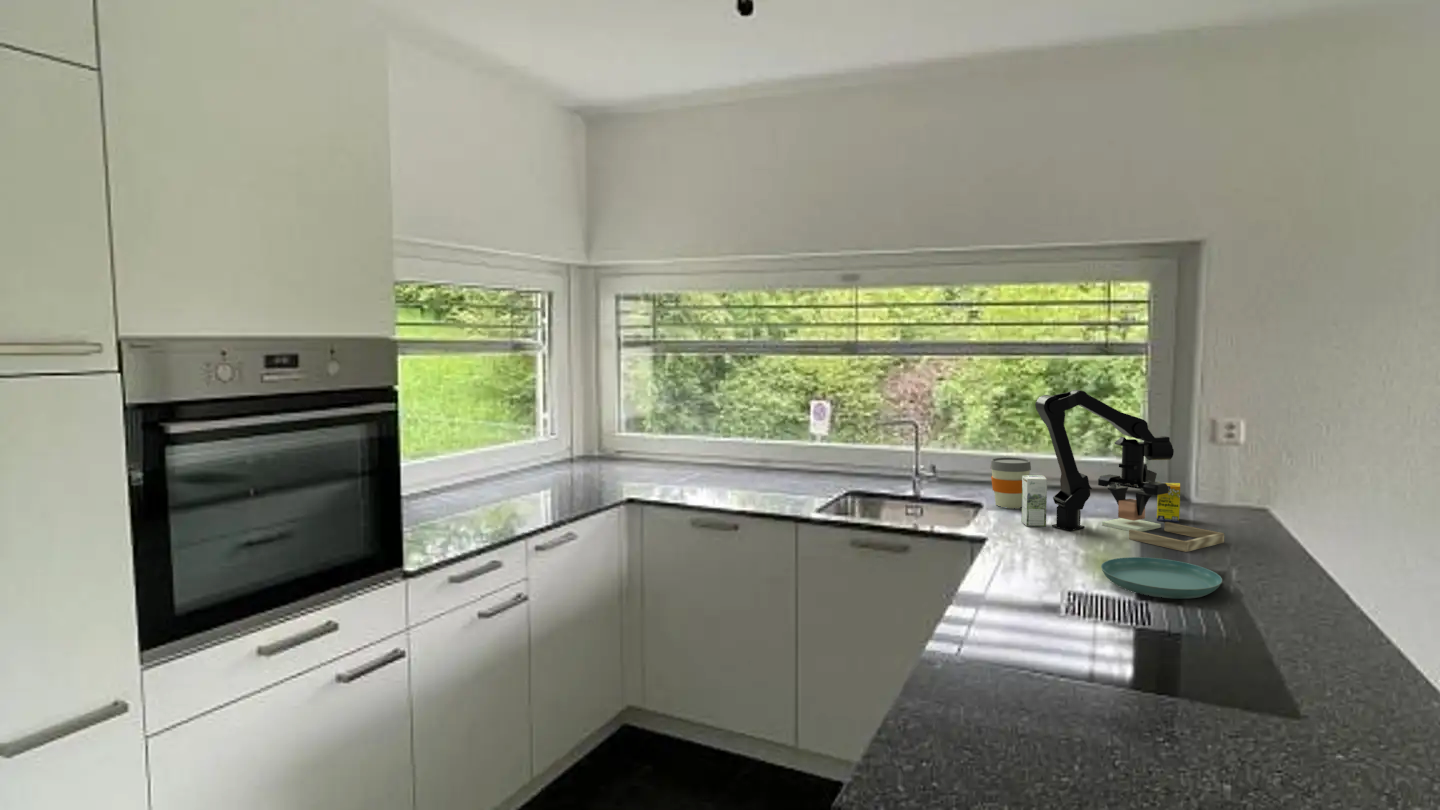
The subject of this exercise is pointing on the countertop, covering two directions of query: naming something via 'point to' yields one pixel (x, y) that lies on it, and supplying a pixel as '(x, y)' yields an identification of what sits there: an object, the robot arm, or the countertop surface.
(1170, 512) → the supplement box
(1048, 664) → the countertop surface
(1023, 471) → the reusable coffee cup
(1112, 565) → the teal plate
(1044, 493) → the syrup box
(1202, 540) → the open wooden frame
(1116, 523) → the pad
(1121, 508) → the terracotta cube
